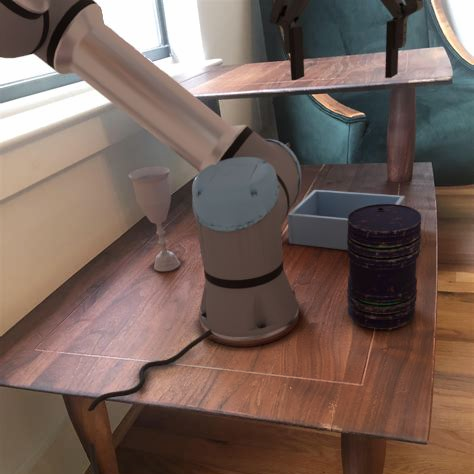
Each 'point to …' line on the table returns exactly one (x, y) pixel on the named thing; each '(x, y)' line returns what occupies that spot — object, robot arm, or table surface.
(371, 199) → the open box
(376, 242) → the dark striped canister
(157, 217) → the chalice
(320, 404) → the table surface
